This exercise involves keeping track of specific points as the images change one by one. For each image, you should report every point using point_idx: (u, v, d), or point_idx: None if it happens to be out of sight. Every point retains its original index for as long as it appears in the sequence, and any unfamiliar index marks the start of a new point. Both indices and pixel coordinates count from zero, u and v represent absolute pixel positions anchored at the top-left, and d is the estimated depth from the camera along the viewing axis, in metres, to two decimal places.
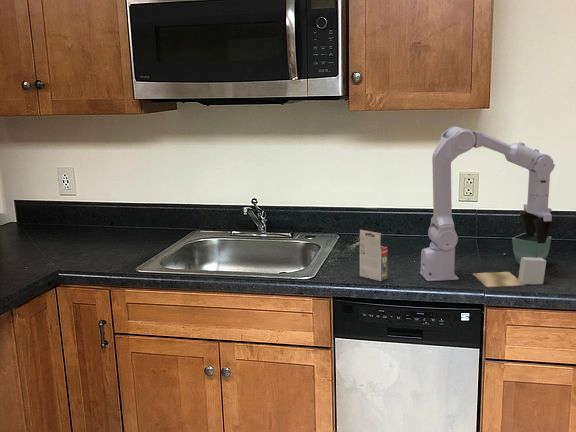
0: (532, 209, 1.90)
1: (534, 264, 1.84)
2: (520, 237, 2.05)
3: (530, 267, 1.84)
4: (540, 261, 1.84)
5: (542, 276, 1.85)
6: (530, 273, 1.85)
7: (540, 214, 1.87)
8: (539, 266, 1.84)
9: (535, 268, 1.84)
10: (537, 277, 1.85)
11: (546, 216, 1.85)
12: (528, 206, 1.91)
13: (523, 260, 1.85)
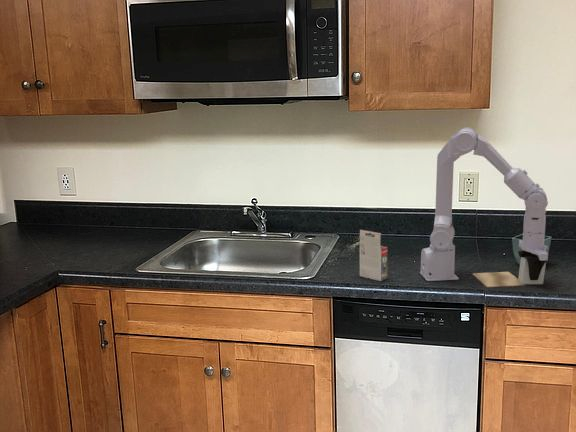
0: (527, 247, 1.83)
1: None
2: (520, 237, 2.05)
3: None
4: None
5: (542, 276, 1.85)
6: None
7: (536, 253, 1.79)
8: None
9: None
10: None
11: (542, 255, 1.77)
12: (523, 243, 1.84)
13: (523, 260, 1.85)
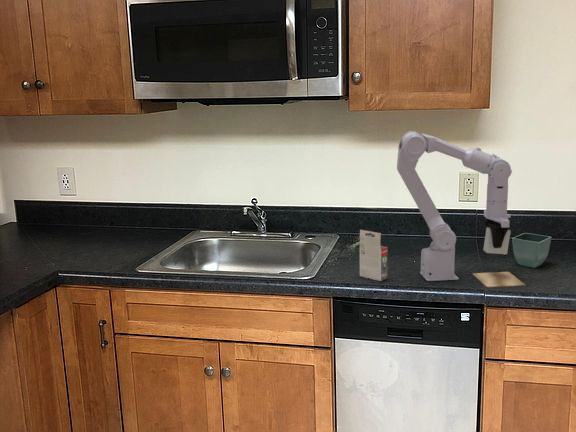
0: (490, 215, 1.88)
1: None
2: (520, 237, 2.05)
3: None
4: None
5: (506, 246, 1.90)
6: None
7: (498, 220, 1.85)
8: None
9: None
10: (502, 246, 1.90)
11: (504, 222, 1.83)
12: (487, 212, 1.89)
13: (488, 230, 1.90)
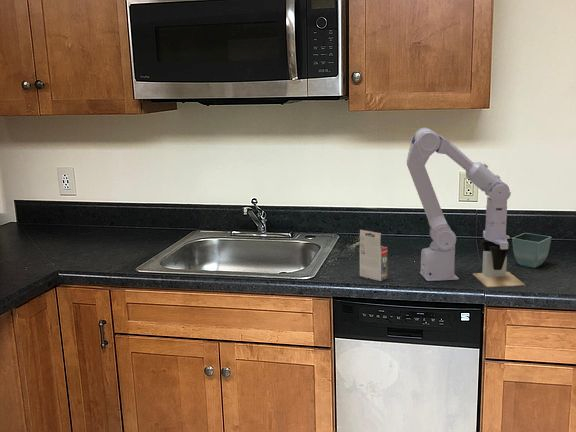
0: (490, 236, 1.89)
1: None
2: (520, 237, 2.05)
3: (492, 260, 1.91)
4: None
5: (504, 268, 1.92)
6: (492, 266, 1.91)
7: (497, 242, 1.86)
8: None
9: None
10: None
11: (502, 244, 1.84)
12: (486, 233, 1.90)
13: (485, 254, 1.92)
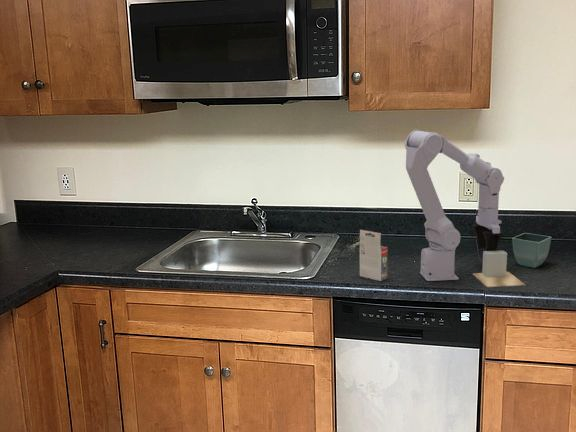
0: (482, 221, 1.95)
1: (495, 257, 1.91)
2: (520, 237, 2.05)
3: (492, 260, 1.91)
4: (501, 254, 1.91)
5: (504, 268, 1.92)
6: (492, 266, 1.91)
7: (489, 226, 1.92)
8: (500, 259, 1.91)
9: (497, 261, 1.91)
10: (500, 269, 1.92)
11: (494, 228, 1.90)
12: (478, 218, 1.96)
13: (485, 254, 1.92)
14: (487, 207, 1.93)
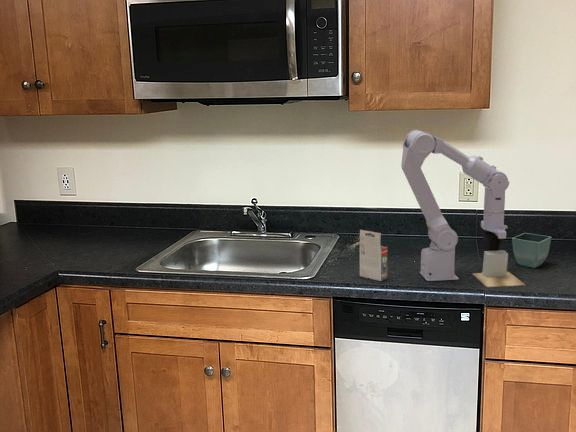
0: (488, 226, 1.90)
1: (496, 258, 1.90)
2: (520, 237, 2.05)
3: (493, 261, 1.90)
4: (502, 255, 1.90)
5: (505, 268, 1.91)
6: (493, 267, 1.91)
7: (495, 231, 1.87)
8: (501, 259, 1.90)
9: (497, 262, 1.91)
10: (500, 269, 1.91)
11: (500, 233, 1.85)
12: (484, 223, 1.92)
13: (486, 254, 1.91)
14: (490, 211, 1.89)
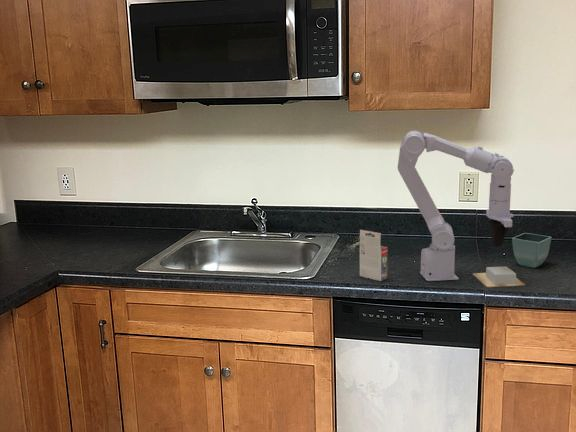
0: (493, 215, 1.86)
1: None
2: (520, 237, 2.05)
3: None
4: (509, 283, 1.86)
5: None
6: None
7: (501, 220, 1.82)
8: None
9: None
10: None
11: (506, 222, 1.80)
12: (489, 211, 1.87)
13: (494, 279, 1.85)
14: (493, 199, 1.85)
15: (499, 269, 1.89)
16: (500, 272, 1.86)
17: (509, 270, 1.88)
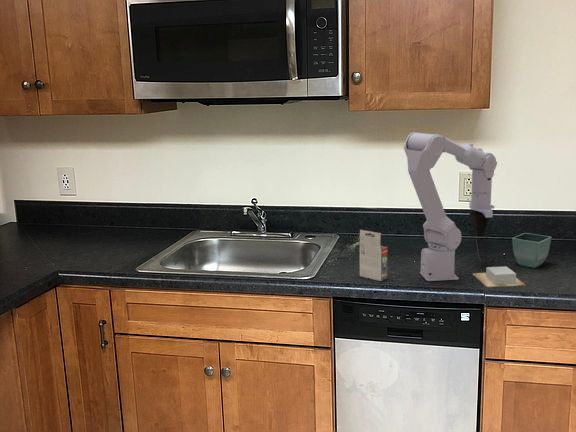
0: (475, 206, 1.97)
1: None
2: (520, 237, 2.05)
3: None
4: (509, 283, 1.86)
5: None
6: None
7: (482, 211, 1.94)
8: None
9: None
10: None
11: (487, 213, 1.92)
12: (472, 203, 1.98)
13: (494, 279, 1.85)
14: (482, 192, 1.95)
15: (499, 269, 1.89)
16: (500, 272, 1.86)
17: (509, 270, 1.88)
